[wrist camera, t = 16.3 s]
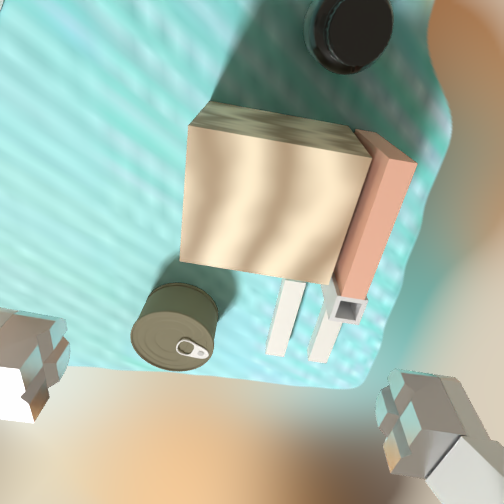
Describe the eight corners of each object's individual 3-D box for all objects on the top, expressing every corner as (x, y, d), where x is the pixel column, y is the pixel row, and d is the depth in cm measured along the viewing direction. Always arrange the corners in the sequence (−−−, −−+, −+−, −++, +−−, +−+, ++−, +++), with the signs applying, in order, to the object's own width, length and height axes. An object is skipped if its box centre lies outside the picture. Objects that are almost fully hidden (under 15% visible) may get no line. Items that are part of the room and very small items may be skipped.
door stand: (265, 342, 60) (265, 354, 58) (284, 269, 52) (284, 280, 50) (324, 351, 61) (326, 363, 59) (351, 280, 53) (355, 291, 51)
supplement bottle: (288, 24, 37) (293, 23, 26) (345, -33, 34) (376, -58, 24) (327, 80, 39) (346, 99, 29) (383, 32, 37) (426, 34, 26)
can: (157, 269, 54) (143, 299, 48) (231, 299, 56) (226, 331, 50) (135, 323, 60) (121, 355, 54) (203, 347, 62) (196, 381, 56)
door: (314, 258, 49) (328, 320, 38) (352, 128, 41) (384, 157, 29) (344, 263, 49) (367, 326, 38) (388, 134, 41) (434, 166, 30)
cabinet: (197, 233, 50) (177, 286, 40) (209, 100, 41) (188, 125, 31) (337, 256, 51) (353, 314, 41) (380, 131, 42) (414, 165, 31)
